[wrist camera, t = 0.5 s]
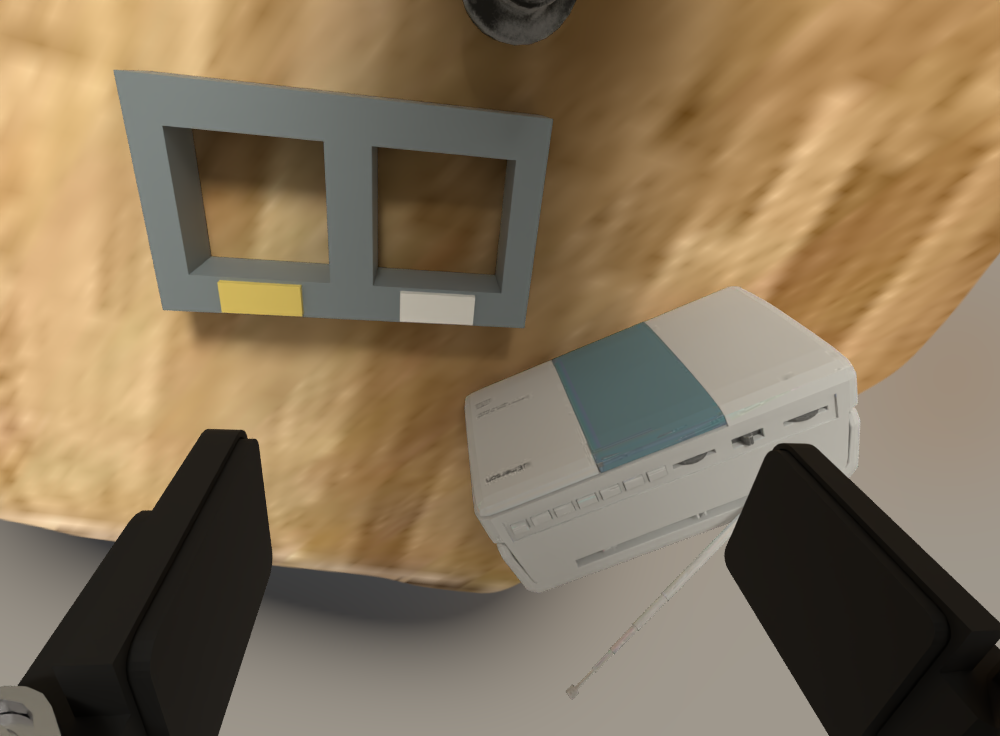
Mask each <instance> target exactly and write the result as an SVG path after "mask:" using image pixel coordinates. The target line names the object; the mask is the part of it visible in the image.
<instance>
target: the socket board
mask: <svg viewBox="0 0 1000 736" xmlns="http://www.w3.org/2000/svg"><path fill="white" fill-rule="evenodd" d="M114 75H115V80H116V85H117V90H118V95H119V99H120V104H121V109H122V114H123V119H124V124H125V129H126V133H127V138H128V143H129V148H130V153H131V158H132V162H133V167H134V172H135V177H136V182H137V187H138V191H139V196H140V201H141V206H142V211H143V216H144V220H145V225H146V230H147V235H148V240H149V245H150V250H151V254H152V259H153V264H154V269H155V274H156V279H157V283H158V288H159V293H160V298H161V303H162V308H163V310H173V311H193V312H213V313H232V314H252V315H272V316H292V317H312V318H332V319H352V320H372V321H391V322H411V323H431V324H451V325H471V326H491V327H511V328H524V327H525V319H526V312H527V305H528V298H529V290H530V283H531V276H532V269H533V261H534V254H535V247H536V240H537V232H538V225H539V218H540V211H541V203H542V196H543V189H544V182H545V174H546V167H547V160H548V153H549V145H550V138H551V131H552V124H553V119H551V118H548V117H545V116H542V115H536V114H527V113H518V112H509V111H500V110H492V109H483V108H474V107H465V106H456V105H447V104H438V103H429V102H421V101H412V100H403V99H394V98H385V97H376V96H367V95H358V94H349V93H341V92H332V91H323V90H314V89H305V88H296V87H287V86H278V85H269V84H261V83H252V82H243V81H234V80H225V79H216V78H207V77H198V76H190V75H181V74H172V73H163V72H154V71H135V70H114ZM192 129H203V130H213V131H223V132H233V133H243V134H253V135H263V136H274V137H284V138H294V139H304V140H314V141H324V161H325V182H326V204H327V225H328V246H329V264H320V263H304V262H289V261H274V260H258V259H243V258H227V257H212V256H211V251H210V245H209V238H208V232H207V225H206V219H205V212H204V206H203V199H202V192H201V186H200V179H199V173H198V166H197V160H196V153H195V147H194V140H193V134H192ZM378 147H385V148H395V149H405V150H415V151H426V152H436V153H446V154H456V155H466V156H476V157H486V158H497V159H507V167H506V176H505V186H504V195H503V205H502V215H501V224H500V234H499V243H498V253H497V262H496V272H495V275H488V274H473V273H458V272H442V271H427V270H412V269H396V268H381V267H378Z"/></svg>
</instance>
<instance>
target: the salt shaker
mask: <svg viewBox="0 0 1000 736" xmlns="http://www.w3.org/2000/svg"><path fill="white" fill-rule="evenodd" d="M575 2H576V0H463V3H464V6H465V9H466V11H467V13H468V14H469V16H470V18H471V20H472V21H473V23H474V24H475V25H476V26H477V27H478V28H479V29H480V30H481V31H482V32H483V33H484V34H486V35H488V36H489V37H491V38H493V39H495V40H498V41H499V42H503V43H507V44H511V45H527V44H532V43H535V42H538V41H540V40H543V39H545V38H547V37H548V36H549V35H551V34H552V33H553V32H555V31H556V30H557V29H558V28H559V27H560V26H561V25H562V23H563V22H564V21H565V20H566V18H567V17H568V16H569V15H570V12H571V10H572V8H573V6H574V4H575Z"/></svg>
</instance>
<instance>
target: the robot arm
mask: <svg viewBox="0 0 1000 736" xmlns="http://www.w3.org/2000/svg"><path fill="white" fill-rule="evenodd" d="M725 562H726V566H727V568H728V570H729V571H730V573H731V575H732V577H733V578H734V580H735V581H736V583H737V585H738V586H739V588H740V590H741V591H742V593H743V595H744V596H745V598H746V599H747V601H748V603H749V605H750V606H751V608H752V609H753V611H754V613H755V614H756V616H757V618H758V619H759V621H760V623H761V624H762V626H763V628H764V629H765V631H766V632H767V634H768V636H769V638H770V639H771V641H772V642H773V644H774V646H775V647H776V649H777V651H778V652H779V654H780V656H781V657H782V659H783V661H784V662H785V664H786V666H787V667H788V669H789V670H790V672H791V674H792V675H793V677H794V678H795V680H796V682H797V684H798V685H799V687H800V689H801V690H802V692H803V694H804V695H805V697H806V698H807V700H808V702H809V703H810V705H811V707H812V708H813V710H814V712H815V713H816V715H817V717H818V718H819V720H820V721H821V723H822V725H823V726H824V728H825V730H826V731H827V733H828V735H829V736H1000V649H999V648H998V647H997V646H996V645H995V644H996V643H997V641H998V640H999V639H1000V622H999V621H998V620H997V619H995V618H994V617H993V616H992V615H991V614H990V613H989V612H988V611H987V610H986V609H985V608H984V607H983V606H982V605H981V604H980V603H979V602H978V601H977V600H976V599H974V598H973V597H972V596H971V595H970V594H969V593H968V592H967V591H966V590H965V589H964V588H963V587H962V586H961V585H960V584H959V583H958V582H957V581H956V580H955V579H954V578H953V577H952V576H950V575H949V574H948V573H947V572H946V571H945V570H944V569H943V568H942V567H941V566H940V565H939V564H938V563H937V562H936V561H935V560H934V559H933V558H932V557H930V556H929V555H928V554H927V553H926V552H925V551H924V550H923V549H922V548H921V547H920V546H919V545H918V544H917V543H916V542H915V541H914V540H913V539H912V538H911V537H910V536H909V535H908V534H906V533H905V532H904V531H903V530H902V529H901V528H900V527H899V526H898V525H897V524H896V523H895V522H894V521H893V520H892V519H891V518H890V517H889V516H888V515H887V514H886V513H885V512H883V511H882V510H881V509H880V508H879V507H878V506H877V505H876V504H875V503H874V502H873V501H872V500H871V499H870V498H869V497H868V496H867V495H866V494H865V493H864V492H863V491H861V490H860V489H859V488H858V487H857V486H856V485H855V484H854V483H853V482H852V481H851V480H850V479H849V478H848V477H847V476H846V475H845V474H844V473H843V472H842V471H841V470H839V469H838V468H837V467H836V466H835V465H834V464H833V463H832V462H831V461H830V460H829V459H828V458H827V457H826V456H825V455H824V454H823V453H822V452H821V451H820V450H819V449H817V448H816V447H815V446H813V445H811V444H806V443H780V444H777V445H776V446H775V447H774V448H773V450H772V451H769V452H768V453H767V454H766V456H765V457H764V460H763V462H762V464H761V467H760V469H759V471H758V474H757V476H756V478H755V481H754V483H753V485H752V488H751V490H750V492H749V495H748V497H747V499H746V502H745V504H744V506H743V509H742V511H741V513H740V516H739V518H738V520H737V523H736V525H735V527H734V530H733V532H732V534H731V537H730V539H729V541H728V544H727V546H726V549H725ZM271 567H272V547H271V539H270V531H269V523H268V515H267V507H266V499H265V491H264V483H263V475H262V467H261V459H260V451H259V444H258V441H257V440H256V439H247V435H246V433H245V431H243V430H224V429H207V430H205V431H204V432H203V433H202V434H201V436H200V437H199V439H198V440H197V442H196V443H195V445H194V446H193V448H192V450H191V451H190V453H189V454H188V456H187V457H186V459H185V460H184V462H183V464H182V465H181V467H180V468H179V470H178V471H177V473H176V474H175V476H174V477H173V479H172V481H171V482H170V484H169V485H168V487H167V488H166V490H165V491H164V493H163V495H162V496H161V498H160V499H159V501H158V502H157V504H156V505H155V507H154V508H153V510H152V511H141V512H139V513H137V514H136V515H135V516H134V517H133V518H132V519H131V520H130V522H129V523H128V524H127V526H126V527H125V529H124V530H123V532H122V533H121V535H120V536H119V537H118V539H117V540H116V542H115V543H114V545H113V546H112V548H111V549H110V551H109V552H108V554H107V555H106V557H105V558H104V559H103V561H102V562H101V564H100V565H99V567H98V568H97V570H96V571H95V573H94V574H93V576H92V577H91V579H90V580H89V582H88V583H87V584H86V586H85V588H84V589H83V590H82V592H81V593H80V595H79V596H78V598H77V599H76V601H75V602H74V604H73V605H72V606H71V608H70V609H69V611H68V612H67V614H66V615H65V617H64V618H63V620H62V622H61V623H60V624H59V626H58V627H57V629H56V630H55V631H54V633H53V634H52V636H51V637H50V639H49V640H48V642H47V643H46V645H45V646H44V648H43V649H42V651H41V652H40V653H39V655H38V657H37V658H36V659H35V661H34V662H33V664H32V665H31V667H30V668H29V670H28V671H27V673H26V674H25V676H24V677H23V678H22V680H21V681H20V683H19V684H18V686H1V687H0V736H218V734H219V730H220V728H221V725H222V721H223V718H224V715H225V712H226V709H227V706H228V703H229V700H230V697H231V693H232V691H233V687H234V684H235V681H236V678H237V675H238V672H239V669H240V666H241V663H242V660H243V657H244V654H245V650H246V647H247V644H248V641H249V638H250V635H251V632H252V629H253V626H254V622H255V620H256V616H257V613H258V610H259V607H260V604H261V601H262V598H263V595H264V592H265V589H266V586H267V583H268V579H269V576H270V573H271Z"/></svg>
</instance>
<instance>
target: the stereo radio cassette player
mask: <svg viewBox="0 0 1000 736" xmlns="http://www.w3.org/2000/svg"><path fill="white" fill-rule="evenodd" d="M857 404H858V396H857V377H856V372H855V370H854V368H853V366H852V364H851V363H850V362H849V360H848V359H847V358H846V357H845V356H843V355H842V354H841V353H840V352H838V351H837V350H836V349H835V348H834V347H832V346H831V345H829V344H828V343H827V342H825V341H824V340H822V339H821V338H820V337H818V336H817V335H815V334H814V333H813V332H811V331H810V330H808V329H807V328H805V327H804V326H802V325H801V324H800V323H798V322H797V321H795V320H794V319H792V318H791V317H789V316H788V315H786V314H785V313H783V312H782V311H780V310H779V309H777V308H776V307H774V306H773V305H771V304H770V303H768V302H766V301H765V300H763V299H761V298H759V297H758V296H756V295H754V294H752V293H750V292H748V291H746V290H744V289H742V288H741V287H737V286H731V287H727V288H724V289H722V290H719V291H717V292H715V293H712V294H710V295H707V296H705V297H703V298H700V299H698V300H695V301H693V302H690V303H688V304H686V305H683V306H681V307H678V308H676V309H674V310H671V311H669V312H666V313H664V314H662V315H659V316H657V317H654V318H652V319H649V320H647V321H645V322H642V323H639V324H637V325H634V326H632V327H629V328H627V329H625V330H622V331H620V332H617V333H615V334H613V335H610V336H608V337H605V338H603V339H600V340H598V341H596V342H593V343H591V344H588V345H586V346H583V347H581V348H579V349H576V350H574V351H571V352H569V353H567V354H564V355H562V356H559V357H557V358H554V359H552V360H550V361H547V362H545V363H542V364H540V365H538V366H535V367H533V368H530V369H528V370H525V371H523V372H521V373H518V374H516V375H513V376H511V377H508V378H506V379H504V380H501V381H499V382H496V383H494V384H492V385H489V386H487V387H484V388H482V389H480V390H477V391H475V392H473V393H471V394H470V395H468V396H467V397H466V399H465V407H464V409H465V420H466V432H467V442H468V452H469V463H470V474H471V484H472V495H473V504H474V511H475V515H476V516H477V518H478V519H479V521H480V523H481V524H482V526H483V528H484V529H485V531H486V533H487V534H488V536H489V538H490V539H491V540H492V541H493V543H497V547H498V550H499V552H500V554H501V556H502V558H503V559H504V561H505V562H506V563H507V565H508V566H509V567H510V568H511V570H512V571H513V572H514V574H515V575H516V576H517V577H518V579H519V580H520V581H521V582H522V584H523V585H524V586H525V588H526V589H527V590H529V591H533V592H536V593H542V592H545V591H548V590H550V589H553V588H556V587H558V586H561V585H564V584H566V583H569V582H572V581H575V580H577V579H579V578H583V577H585V576H588V575H590V574H593V573H596V572H599V571H601V570H604V569H607V568H609V567H612V566H615V565H618V564H620V563H623V562H625V561H628V560H631V559H634V558H636V557H639V556H642V555H644V554H647V553H650V552H652V551H655V550H658V549H661V548H663V547H666V546H669V545H671V544H674V543H677V542H679V541H682V540H685V539H687V538H690V537H692V536H696V535H698V534H701V533H704V532H706V531H709V530H712V529H714V528H717V527H720V526H722V525H725V524H728V523H730V522H731V523H730V524H729V525H728V526H727V527H726V528H725V529H724V530H723V531H722V532H721V533H720V534H719V535H718V536H717V537H716V538H715V539H714V540H713V541H712V542H711V543H710V545H708V546H707V548H705V549H704V551H702V553H701V554H700V555H699V556H698V557H697V558H696V559H695V560H694V561H693V562H692V563H691V564H690V565H689V566H688V567H687V568H686V569H685V570H684V571H683V572H682V573H681V574H680V575H679V576H678V577H677V578H676V579H675V580H674V581H673V582H672V583H671V584H670V585H669V586H668V587H667V588H666V589H665V590H664V591H663V592H662V593H661V596H659V597H658V599H656V601H655V602H654V603H653V604H652V605H651V606H650V607H649V608H648V609H647V610H646V611H645V612H644V613H643V614H642V615H641V616H640V617H639V618H638V619H637V620H636V621H635V622H634V623H633V625H632V626H631V627H630V628H629V630H628V631H627V632H626V633H625V634H624V635H623V636H622V637H621V638H620V639H619V640H618V641H617V642H616V643H615V644H614V645H613V646H612V647H611V648H610V650H609V651H608V652H607V653H606V654H605V655H604V656H603V657H602V658H601V659H600V660H599V661H598V662H597V664H596V665H595V666H594V667H593V668H592V670H591V671H590V672H589V673H588V674H587V675H586V676H585V677H584V678H583V679H582V680H581V682H579V683H578V684H577V685H576V686H575V687H574V686H573V685H571V686H570V688H568V689H567V690H566V693H567V694H568V696H569V697H570V698H571V699H572V700H573V699H574V698H575V697H576V696H577V695H578V694H579V692H578V691H577V689H578V688H579V687H580V686H581V685H582V684H583V683H584V682H585V681H586V680H587V679H588V678H589V677H590V676H591V675H592V674H593V673H594V672H596V671H597V670H598V669H599V668H600V667H601V666H602V665H603V664H604V663H605V662H606V661H607V660H608V659H609V658H610V657H611V656H612V655H613V654H615V653H616V652H617V651H618V650H619V649H620V648H621V647H622V646H623V645H624V644H625V643H626V642H627V641H628V640H629V639H630V637H631V636H632V635H633V634H634V633H635V632H636V631H639V630H640V629H641V628H642V626H643V625H644V624H645V623H646V622H647V621H648V620H649V619H650V618H651V617H652V616H653V615H654V614H655V613H656V612H657V611H658V610H659V609H660V608H661V607H662V606H663V605H664V604H665V603H666V602H667V601H669V600H670V598H671V597H673V596H674V594H675V593H676V592H677V591H678V590H679V589H680V588H681V587H682V586H683V585H684V584H685V583H686V582H687V581H688V580H689V579H690V578H691V577H692V576H693V575H694V574H695V573H696V572H697V571H698V570H699V569H700V568H701V566H703V564H704V563H705V562H706V561H707V560H708V559H709V558H710V557H711V556H712V555H713V554H714V553H715V552H716V551H717V550H718V549H719V548H720V547H721V546H722V545H723V544H724V543H725V542H726V541H727V540H728V539H729V538H730V537H731V534H732V532H733V530H734V527H735V525H736V523H737V520H738V518H739V516H740V513H741V511H742V509H743V506H744V504H745V502H746V499H747V497H748V495H749V492H750V490H751V488H752V485H753V483H754V481H755V478H756V476H757V474H758V471H759V469H760V467H761V464H762V462H763V460H764V457H765V456H766V454H767V453H768V452H769V451H772V450H773V448H774V447H775V446H776V445H777V444H780V443H806V444H811V445H813V446H815V447H816V448H817V449H819V450H820V451H821V452H822V453H823V454H824V455H825V456H826V457H827V458H828V459H829V460H830V461H831V462H832V463H833V464H834V465H835V466H836V467H837V468H838V469H839V470H841V471H842V472H843V473H844V474H845V475H846V476H847V477H848V478H850V476H851V475H852V474H853V472H854V471H855V470H856V469H857V467H858V455H859V437H860V419H859V416H858V413H857V410H856V409H855V408H854V406H856V405H857Z"/></svg>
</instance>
